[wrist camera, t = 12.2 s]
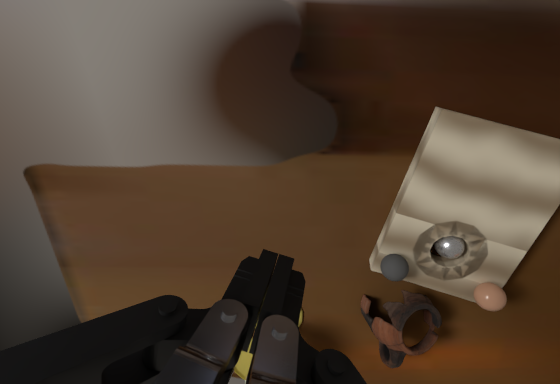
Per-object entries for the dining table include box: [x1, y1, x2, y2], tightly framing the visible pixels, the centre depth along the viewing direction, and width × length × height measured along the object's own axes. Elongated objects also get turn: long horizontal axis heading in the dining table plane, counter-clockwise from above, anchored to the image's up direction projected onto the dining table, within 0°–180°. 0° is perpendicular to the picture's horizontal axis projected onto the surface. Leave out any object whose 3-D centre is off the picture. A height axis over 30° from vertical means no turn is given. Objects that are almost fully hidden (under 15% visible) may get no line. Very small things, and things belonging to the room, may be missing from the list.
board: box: [369, 107, 560, 302], centre depth 37 cm, size 22×16×2 cm
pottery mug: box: [361, 290, 442, 368], centre depth 43 cm, size 12×10×8 cm
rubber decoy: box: [380, 254, 409, 281], centre depth 38 cm, size 3×3×3 cm
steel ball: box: [434, 236, 465, 259], centre depth 38 cm, size 3×3×3 cm
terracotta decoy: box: [473, 282, 507, 311], centre depth 37 cm, size 3×3×3 cm
